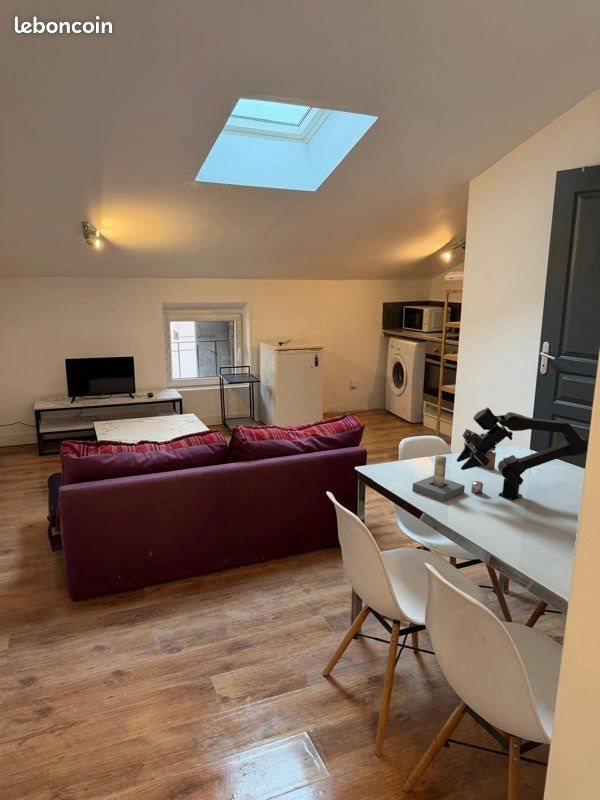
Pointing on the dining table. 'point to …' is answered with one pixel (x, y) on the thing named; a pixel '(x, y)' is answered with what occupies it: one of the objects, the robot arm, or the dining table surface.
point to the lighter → (490, 460)
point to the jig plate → (438, 489)
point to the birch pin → (439, 471)
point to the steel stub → (477, 487)
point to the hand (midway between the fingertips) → (459, 465)
